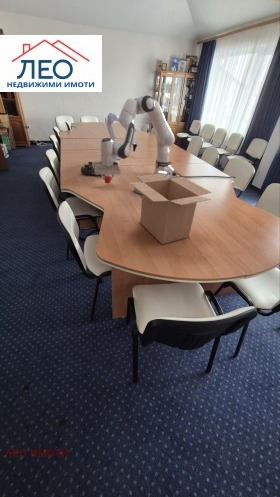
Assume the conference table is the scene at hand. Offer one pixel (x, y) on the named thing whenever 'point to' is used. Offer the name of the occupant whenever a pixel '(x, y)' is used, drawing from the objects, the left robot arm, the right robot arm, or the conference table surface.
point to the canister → (107, 179)
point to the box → (168, 205)
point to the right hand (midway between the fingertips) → (107, 179)
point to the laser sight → (89, 169)
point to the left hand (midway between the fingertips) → (131, 151)
